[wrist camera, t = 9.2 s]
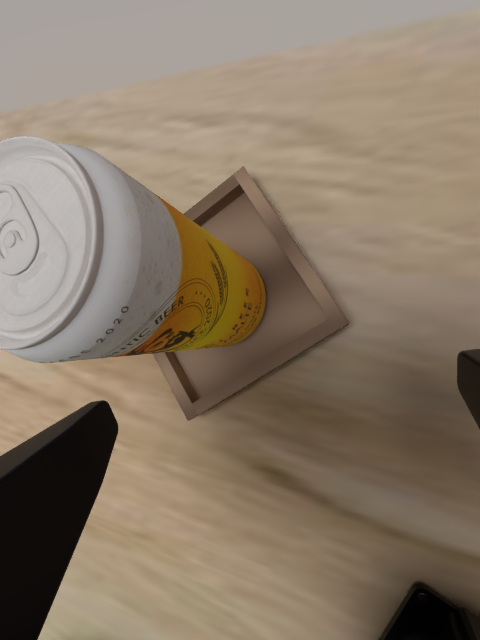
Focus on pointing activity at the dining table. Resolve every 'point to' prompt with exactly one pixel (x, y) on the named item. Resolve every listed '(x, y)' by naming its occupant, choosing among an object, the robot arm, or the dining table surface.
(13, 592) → the robot arm
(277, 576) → the dining table surface
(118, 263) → the beer can
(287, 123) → the dining table surface
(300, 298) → the tray
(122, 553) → the dining table surface
